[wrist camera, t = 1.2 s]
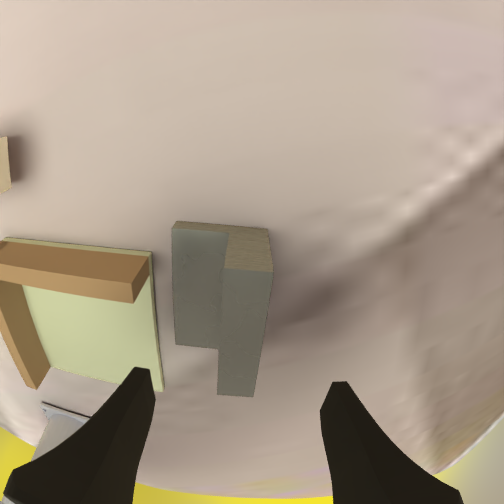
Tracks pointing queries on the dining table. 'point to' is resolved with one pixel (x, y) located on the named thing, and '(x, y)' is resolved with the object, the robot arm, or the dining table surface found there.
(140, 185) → the dining table surface
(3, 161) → the shelf bracket
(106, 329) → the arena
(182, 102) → the dining table surface
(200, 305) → the angle bracket
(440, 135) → the dining table surface
